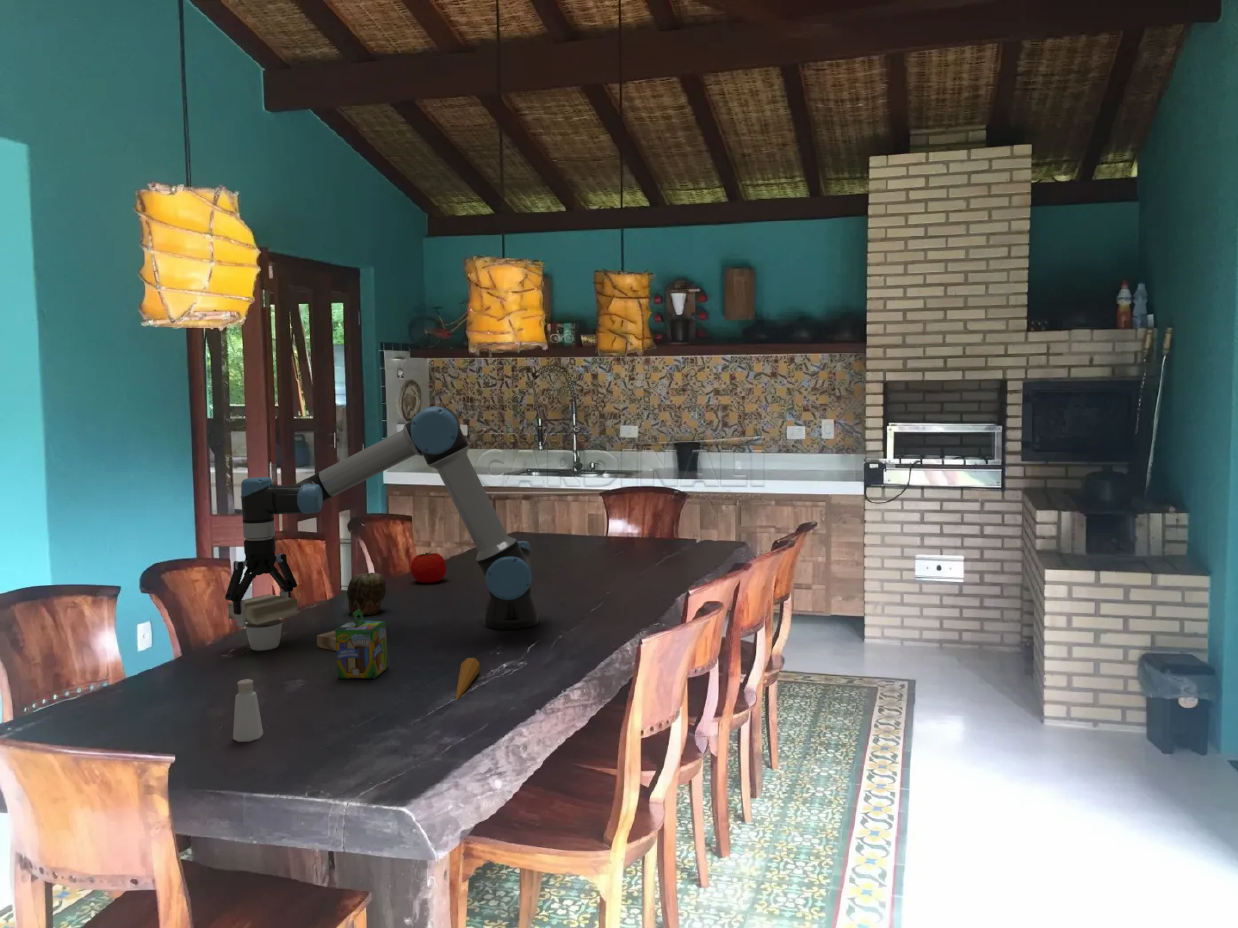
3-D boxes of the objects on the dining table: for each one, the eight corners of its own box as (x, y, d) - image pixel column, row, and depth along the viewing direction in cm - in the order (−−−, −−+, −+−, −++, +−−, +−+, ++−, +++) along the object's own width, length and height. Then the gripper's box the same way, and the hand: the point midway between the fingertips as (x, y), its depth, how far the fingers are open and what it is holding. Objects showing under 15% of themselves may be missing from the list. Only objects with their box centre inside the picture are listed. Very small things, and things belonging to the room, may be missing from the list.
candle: (282, 650, 246) (281, 625, 245) (244, 653, 243) (243, 629, 243) (284, 641, 254) (282, 617, 254) (247, 644, 252) (246, 620, 251)
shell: (376, 617, 278) (375, 576, 277) (341, 616, 280) (339, 576, 279) (392, 609, 289) (391, 569, 288) (358, 607, 291) (357, 568, 290)
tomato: (444, 577, 334) (443, 548, 333) (449, 584, 323) (448, 553, 322) (408, 580, 330) (407, 550, 329) (412, 587, 319) (411, 556, 318)
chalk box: (374, 679, 219) (372, 615, 218) (336, 679, 221) (333, 615, 219) (389, 667, 229) (387, 606, 227) (352, 667, 230) (349, 605, 229)
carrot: (467, 676, 224) (459, 659, 223) (484, 668, 223) (476, 651, 223) (451, 714, 204) (441, 695, 203) (470, 706, 204) (461, 688, 203)
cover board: (297, 614, 250) (297, 599, 249) (256, 624, 240) (255, 608, 240) (270, 608, 257) (269, 594, 256) (228, 618, 247) (227, 603, 247)
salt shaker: (226, 740, 183) (223, 683, 183) (247, 730, 188) (244, 675, 188) (249, 743, 182) (246, 686, 181) (269, 733, 187) (266, 677, 186)
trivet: (368, 643, 250) (367, 632, 250) (339, 651, 243) (339, 640, 243) (345, 638, 255) (345, 627, 255) (317, 646, 248) (316, 635, 248)
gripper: (291, 530, 258) (295, 609, 260) (206, 543, 239) (211, 629, 241) (308, 532, 254) (312, 613, 256) (224, 546, 234) (229, 633, 236)
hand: (263, 621), depth 248 cm, fingers closed on cover board, 12 cm apart
